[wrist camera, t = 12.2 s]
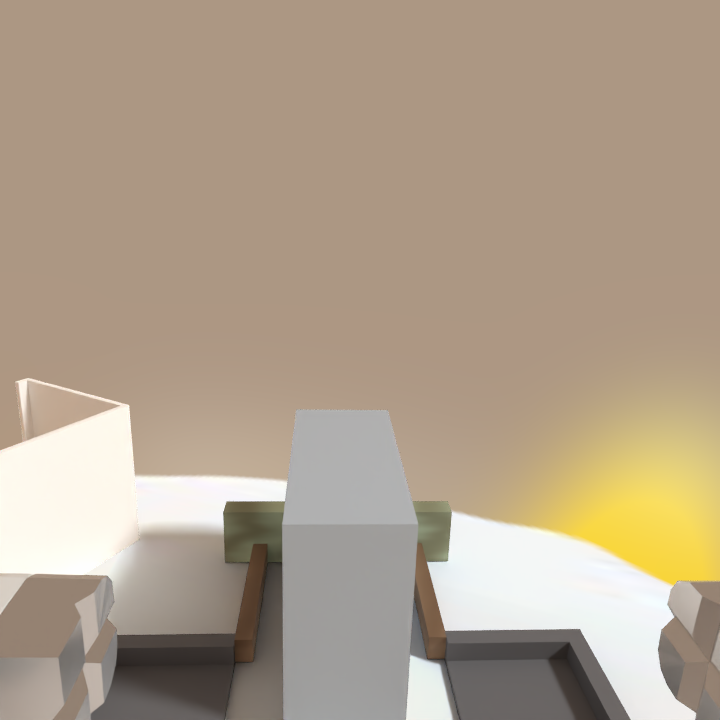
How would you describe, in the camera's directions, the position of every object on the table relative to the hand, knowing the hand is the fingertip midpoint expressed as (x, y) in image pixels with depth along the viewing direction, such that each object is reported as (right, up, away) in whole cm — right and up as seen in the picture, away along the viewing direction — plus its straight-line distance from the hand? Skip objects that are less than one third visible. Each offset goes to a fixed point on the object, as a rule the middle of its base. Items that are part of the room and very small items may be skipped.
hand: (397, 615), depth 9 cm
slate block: (-2, -13, +28) cm, 31 cm away
